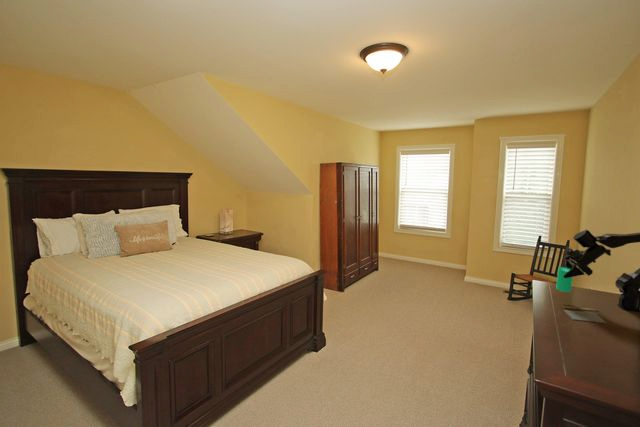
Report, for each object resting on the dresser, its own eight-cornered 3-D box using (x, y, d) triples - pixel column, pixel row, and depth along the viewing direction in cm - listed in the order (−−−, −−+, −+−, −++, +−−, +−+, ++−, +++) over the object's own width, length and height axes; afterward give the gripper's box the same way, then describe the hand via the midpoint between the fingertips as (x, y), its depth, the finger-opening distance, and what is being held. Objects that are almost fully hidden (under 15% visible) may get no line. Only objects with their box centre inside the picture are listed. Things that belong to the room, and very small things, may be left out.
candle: (553, 288, 164) (555, 265, 161) (560, 285, 166) (563, 263, 164) (566, 292, 158) (569, 269, 156) (573, 290, 161) (576, 266, 158)
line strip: (596, 309, 153) (596, 308, 153) (598, 311, 151) (598, 310, 151) (561, 306, 157) (561, 305, 157) (562, 308, 155) (562, 307, 155)
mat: (594, 313, 149) (594, 312, 149) (606, 323, 139) (606, 322, 139) (563, 310, 152) (563, 309, 152) (572, 319, 143) (572, 319, 143)
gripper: (569, 238, 166) (542, 258, 171) (585, 246, 149) (555, 268, 153) (587, 254, 165) (559, 274, 169) (606, 264, 147) (574, 286, 152)
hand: (561, 275), depth 161 cm, fingers closed on candle, 5 cm apart
